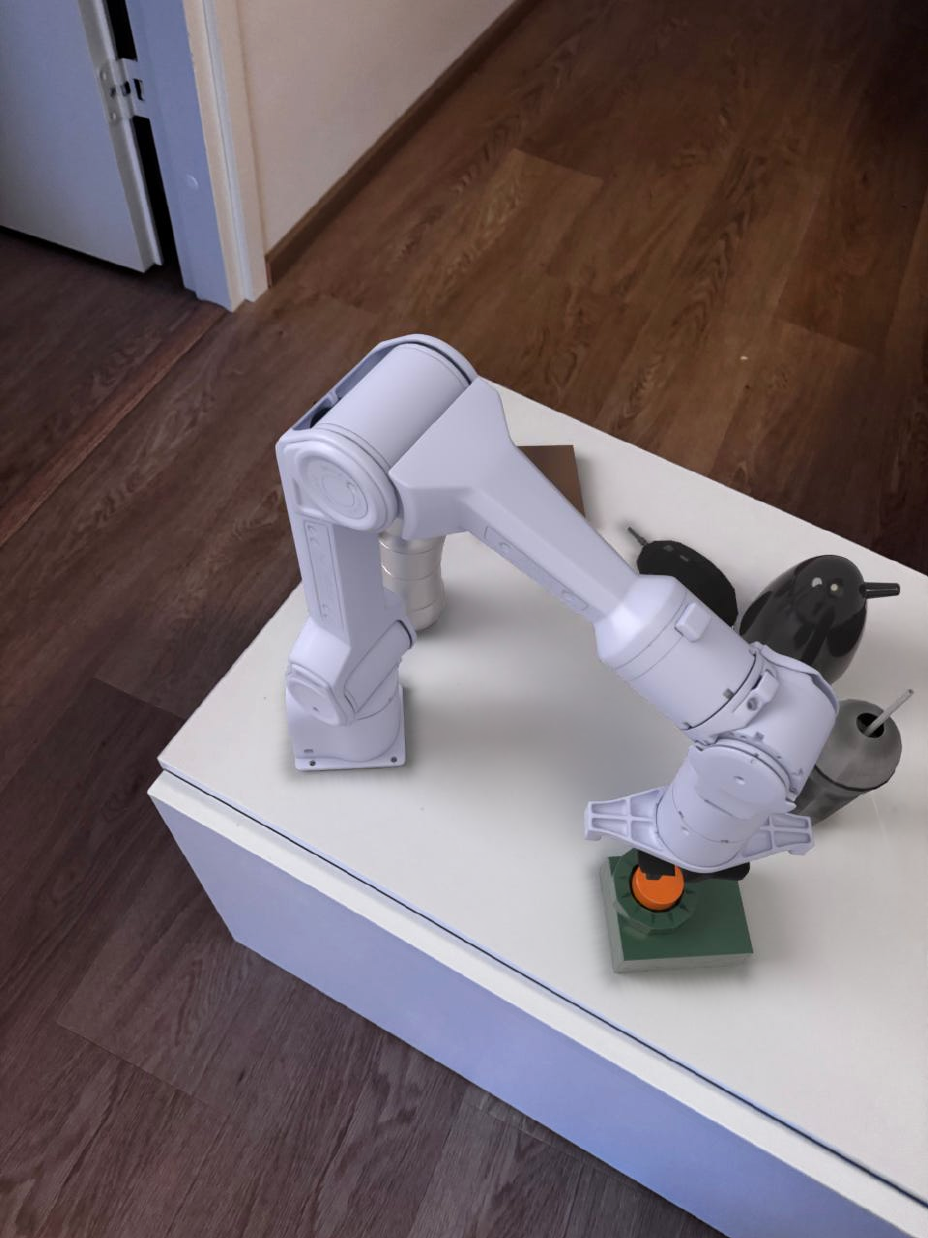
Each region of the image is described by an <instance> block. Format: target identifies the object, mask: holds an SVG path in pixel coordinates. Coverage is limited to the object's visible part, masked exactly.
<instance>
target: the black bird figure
mask: <svg viewBox="0 0 928 1238" xmlns="http://www.w3.org/2000/svg"><path fill="white" fill-rule="evenodd" d="M858 567H859V566H857V565H856V564H855V563H854V562H853V561H852V560H850V559H848V558H846V557H845V556H841V555H838V554H821V555H820V554H819V555H816V556H811V557H809V558H807V559H804V560H802V561H800V562H798V563H796V564H794V565H793V566H791V567H790V568H787V569H786V570H785V571H783V572H782V573H781V574H779V575H778V576H776V577H775V578H774V579H773V580H771V581H770V582H769V583H768V584H767V585H766V586H765V587H763V589H762V590H761V591H760V592H759V593H758V594H757V595H756V596H755V598H754V599H753V600H752V601H751V602H750V603H749V605H748V607H747V608H746V610H745V612H744V614H743V615H742V618H741V620H740V624H739V629H738V635H739V636H740V637H742V638H743V639H744V640H745V641H746V642H747V643H748V644H751V643H754V642H759V643H760V644H762V645H767V646H768V647H769V648H770V649H771V650H773V651H774V652H776V653H778V654H781V655H784V656H787V657H790V658H793V659H796V660H798V661H800V662H802V663H805V664H806V665H808V666H810V667H812V668H813V669H815V670H816V671H818V672H819V673H820V674H821V676H822V677H823V679H824V680H825V681H826V682H827V683H828V684H829V685H830V686H832V685H834V684H835V683H837V681H838V680H840V679H841V678H842V677H843V676H844V674H845V673H846V672H847V670H848V669H849V667H850V666H851V664H852V663H853V661H854V660H855V659H854V658H855V657H856V654H857V653H858V650H859V648H860V645H861V643H862V640H863V637H864V633H865V631H866V625H867V619H868V612H869V611H868V610H869V601H868V600H871V599H880V598H889V597H897V596H899V595H900V594H901V584H899V583H898V582H880V581H879V582H878V581H876V582H875V581H865V578H864V576H863V574H862V572H861V570H860V569H859V568H858Z"/></svg>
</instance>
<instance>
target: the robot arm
mask: <svg viewBox="0 0 928 1238" xmlns="http://www.w3.org/2000/svg"><path fill="white" fill-rule="evenodd" d="M517 446H518V445H516V444H515V443H514V441H513V439H512V437H511V435H510V429H509V426H508V422H507V417H506V414H505V409H504V405H503V401H502V398H501V395H500V392H498V390H497V388H495V387H494V386H492V385H491V384H490V383H488V382H487V381H485V380H484V379H483V378H481V377H480V376H479V375H478V373H477V371H476V370H475V368H474V367H473V365H472V364H471V363H470V361H468V359H467V358H466V357H465V356H464V355H463V354H462V353H461V352H460V351H458V350H457V349H456V348H454V347H453V346H451V345H450V344H449V343H447V342H445V341H443V340H441V339H439V338H437V337H435V336H432V335H427V334H423V333H412V334H407V335H403V336H399V337H395V338H392V339H387V340H384V341H381V342H378V344H377V345H376V346H375V347H373V348H372V349H371V350H370V351H369V352H368V353H367V354H366V355H365V356H364V357H363V358H362V359H361V360H360V361H359V362H358V363H357V364H356V365H355V366H353V368H351V370H350V371H348V373H347V374H345V375H343V377H342V378H341V379H340V380H338V382H337V383H336V384H335V385H334V386H333V387H332V388H331V389H329V391H328V392H326V394H325V395H323V396H322V397H321V398H320V399H319V400H318V401H317V402H316V403H315V404H314V405H312V407H311V408H310V409H309V410H307V412H305V414H304V415H302V416H301V417H300V418H299V419H298V420H297V421H296V422H294V424H293V425H292V426H291V427H290V428H288V430H287V431H286V432H284V434H282V435H281V436H280V438H279V439H278V441H277V442H276V443H275V448H274V449H275V456H276V461H277V465H278V470H279V476H280V480H281V485H282V489H283V494H284V495H283V496H284V499H285V504H286V509H287V514H288V518H289V523H290V528H291V533H292V537H293V538H292V539H293V542H294V546H295V547H294V548H295V552H296V556H297V561H298V567H299V572H300V576H301V580H302V585H303V591H304V596H305V599H306V605H307V609H308V616H307V619H306V621H305V623H304V625H303V627H302V629H301V631H300V632H299V635H298V636H297V639H296V640H295V642H294V644H293V646H292V648H291V650H290V652H289V654H288V657H287V659H288V663H289V665H287V668H286V671H285V672H284V680H285V711H286V722H287V729H288V733H289V737H290V741H291V747H292V750H293V753H294V759H295V760H294V765H295V768H296V770H298V771H301V772H302V771H303V772H304V771H305V772H306V771H323V770H324V771H325V770H326V771H327V770H345V769H369V768H371V769H372V768H392V767H403V766H404V765H405V764H406V761H407V760H406V759H407V756H406V737H405V735H406V734H405V712H404V711H405V709H404V688H403V685H402V684H401V683H400V680H399V668H400V665H401V663H402V662H403V656H404V655H405V654H406V653H407V652H408V651H410V650H412V649H413V647H414V646H415V645H416V643H417V640H418V639H417V638H418V637H417V631H415V629H414V626H413V623H412V621H411V619H410V618H409V616H408V615H407V613H406V610H405V602H404V601H403V600H402V599H401V598H400V597H399V596H397V595H396V594H395V593H393V592H392V591H390V590H389V589H387V588H386V587H384V586H383V580H382V569H381V558H380V546H379V535H378V532H382V531H384V530H386V529H387V528H389V527H390V525H391V524H392V523H393V522H394V520H395V519H396V517H397V518H399V519H401V520H403V521H404V522H403V529H402V538H403V539H405V540H407V541H414V540H420V539H426V538H432V537H437V536H443V535H447V536H448V535H454V534H459V533H465V532H468V533H469V534H471V535H472V536H474V537H475V538H476V539H478V540H479V541H480V542H482V543H483V544H484V545H486V546H487V547H488V548H490V549H491V550H492V551H493V552H495V553H496V554H497V555H499V556H501V557H502V558H503V559H504V560H506V561H507V562H508V563H510V564H511V565H513V566H514V568H516V569H518V570H519V571H520V572H522V573H523V574H524V575H526V576H527V577H528V578H530V579H531V580H532V581H533V582H535V583H536V584H538V585H540V587H542V588H543V589H544V590H546V591H547V592H549V593H550V594H551V595H552V596H554V597H555V598H557V599H558V600H559V601H560V602H562V603H563V604H564V605H565V606H567V607H568V608H569V609H571V610H572V611H573V612H575V613H576V614H578V615H579V616H580V617H582V618H583V619H584V620H585V621H587V622H589V623H590V624H591V625H592V626H593V629H594V635H595V647H596V653H597V657H598V659H599V661H601V663H603V664H605V666H606V667H608V668H609V669H610V670H611V671H612V672H613V673H614V674H615V675H617V676H618V677H619V678H620V679H621V680H623V682H625V683H626V684H627V685H628V686H629V687H631V689H632V690H634V691H635V692H636V693H637V694H638V695H639V696H641V697H642V698H643V699H644V700H645V701H646V702H647V703H648V704H650V705H651V706H652V707H653V708H654V709H655V710H657V711H658V712H659V713H660V714H661V715H662V716H663V717H664V718H666V719H667V720H668V721H669V722H670V723H671V724H673V726H675V727H676V728H677V729H678V730H679V731H680V732H681V733H682V734H684V736H686V737H687V738H689V739H690V740H691V742H693V744H690V745H689V747H688V752H687V753H688V754H687V755H686V757H685V759H684V760H683V762H682V764H681V765H680V767H679V769H678V771H677V772H676V774H675V775H674V777H673V779H672V781H671V783H669V784H665V785H662V786H657V787H654V788H650V789H647V790H644V791H639V792H636V793H632V794H629V795H626V796H622V797H617V798H614V799H608V800H589V801H588V802H587V803H586V807H585V808H584V812H583V820H584V821H583V831H584V834H583V837H584V840H585V841H595V842H598V841H600V840H601V839H602V837H606V838H609V839H612V840H615V841H618V842H620V843H622V844H624V845H627V846H629V847H632V848H636V849H637V850H638V864H639V868H640V871H641V872H642V873H645V874H646V879H647V880H659V879H660V878H661V877H662V876H675V865H677V866H679V867H681V868H683V882H685V883H697V882H701V881H704V880H708V879H718V880H732V881H738V882H740V881H743V880H744V879H745V878H746V877H747V876H748V875H749V873H750V870H751V862H753V861H757V860H761V859H763V858H766V857H770V856H773V855H777V854H780V853H784V852H788V854H789V855H792V856H805V855H806V854H807V853H808V852H810V850H811V849H812V848H814V847H815V842H814V841H815V840H814V834H813V833H814V832H813V826H812V825H811V818H810V817H807V816H799V815H794V814H790V813H787V812H789V811H791V810H793V809H795V808H796V805H795V804H794V803H793V801H795V799H796V797H798V796H799V794H800V793H801V791H802V789H803V787H804V785H805V783H806V781H807V779H808V777H809V775H810V773H811V771H812V769H813V767H814V765H815V763H816V761H817V759H818V757H819V755H820V753H821V751H822V749H823V747H824V745H825V743H826V741H827V739H828V737H829V735H830V733H831V731H832V729H833V727H834V725H835V721H836V717H837V715H838V713H839V701H840V700H839V698H838V695H837V693H836V691H835V690H834V688H833V687H832V685H829V684H828V683H827V682H826V681H825V680H824V679H823V677H822V676H821V674H820V673H819V672H818V671H816V670H815V669H813V668H812V667H810V666H808V665H806V664H805V663H802V662H800V661H798V660H796V659H793V658H790V657H787V656H784V655H781V654H778V653H776V652H774V651H773V650H771V649H770V648H769V647H768V646H767V645H762V644H760V643H759V642H754V643H751V644H748V643H747V642H746V641H745V640H744V639H743V638H742V637H740V636H739V633H737V632H736V631H735V630H734V629H732V627H729V626H728V625H727V624H726V623H725V622H724V621H723V620H721V619H720V618H719V617H718V616H717V615H716V614H715V613H714V612H713V611H711V610H710V609H709V608H708V607H707V606H706V605H705V604H704V603H703V602H701V601H700V600H699V599H698V598H697V597H696V596H695V595H694V594H693V593H691V592H690V591H689V590H688V589H687V588H686V587H685V586H684V585H683V584H681V583H680V582H679V581H678V580H677V579H676V578H674V577H672V576H665V575H642V574H640V573H639V572H637V571H636V570H635V569H634V568H633V567H632V566H631V565H630V564H629V562H627V560H626V559H624V557H623V556H622V555H620V553H619V552H618V551H617V550H616V549H615V548H614V547H613V546H612V545H611V544H610V543H609V542H608V540H607V539H606V538H604V536H603V535H602V534H601V533H600V532H599V531H598V530H597V529H596V528H595V527H594V526H593V525H592V523H590V522H589V521H588V519H587V518H586V519H585V518H584V517H583V516H582V515H581V513H580V512H579V511H578V510H577V509H576V508H575V507H574V506H573V505H572V504H571V503H570V502H569V501H568V500H567V499H566V498H565V497H564V496H563V495H562V493H561V492H560V491H559V490H558V489H557V488H556V487H555V486H554V485H553V484H552V483H551V482H550V481H549V480H548V479H547V478H546V477H545V476H544V475H543V473H542V472H541V471H540V470H539V469H538V468H537V467H536V466H535V465H534V464H533V463H532V462H531V461H530V460H529V459H528V458H527V457H526V456H525V455H524V453H523V452H522V451H521V450H520V449H519V448H518V447H517ZM393 759H394V760H396V761H392V760H393ZM312 763H314V765H312Z"/></svg>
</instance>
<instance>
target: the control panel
mask: <svg viewBox="0 0 928 1238" xmlns="http://www.w3.org/2000/svg"><path fill="white" fill-rule="evenodd" d="M516 446H517V447H518V448H519V449H520V450H521V451H522V452H523V453H524V455H525V456H526V457H527V458H528V459H529V460H530V461H531V462H532V463H533V464H534V465H535V466H536V467H537V468H538V469H539V470H540V471H541V472H542V473H543V475H544V476H545V477H546V478H547V479H548V480H549V481H550V482H551V483H552V484H553V485H554V486H555V487H556V488H557V489H558V490H559V491H560V492H561V493H562V495H563V496H564V497H565V498H566V499H567V500H568V501H569V502H570V503H571V504H572V505H573V506H574V507H575V508H576V509H577V510H578V511H579V512H580V513H581V515H582V516H583V517H584V518H585V519H586V520H587V518H586V512H585V506H584V502H583V501H584V499H583V494H582V489H581V482H580V476H579V470H578V465H577V464H578V463H577V459H576V454H575V447H574V444H548V445H545V444H544V445H543V444H542V445H516Z"/></svg>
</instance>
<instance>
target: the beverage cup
mask: <svg viewBox="0 0 928 1238" xmlns="http://www.w3.org/2000/svg"><path fill="white" fill-rule="evenodd" d="M914 694H915V690H914V689H913V688H911V687H910V688H909V687H908V688H907V690H906V691H905V692H903V693H902V694H901V695H900V696H899V697H897V699H896V700H895V701H894V702H893V703H892V704H891V705H890V706H889V707H887V708H886V709H885V710H884V709H883V708H881V707H880V706H878V705H877V704H874V703H872V702H869V701H866V700H861V699H855V698H854V699H853V698H849V699H842V700H839V713H838V715H837V717H836V721H835V725H834V727H833V729H832V731H831V733H830V735H829V737H828V739H827V741H826V743H825V745H824V747H823V749H822V751H821V753H820V755H819V757H818V759H817V761H816V763H815V765H814V767H813V769H812V771H811V773H810V775H809V777H808V779H807V781H806V783H805V785H804V787H803V789H802V791H801V793H800V794H799V796H798V797H796V799H795V801H793V803H794V804H795V805H796V808H795V809H793V810H791V811H789V812H787V813H790V814H794V815H799V816H807V817H810V818H811V825H812V827H814V826H816V825H817V824H819V823H821V822H823V821H825V820H826V819H828V818H829V817H831V816H832V815H834V814H835V813H837V812H838V811H840V810H841V809H843V808H844V807H845V806H847V805H848V804H850V803H851V802H853V801H855V800H856V799H857V798H858V797H860V796H863V795H865V794H867V793H871V792H872V791H876V790H878V789H880V788H881V787H883V786H884V785H887V784H888V783H889V781H890V780H891V779H892V778H893V776H894V775H895V773H896V769H897V768H898V766H899V763H900V761H901V756H902V751H903V742H902V736H901V732H900V730H899V727H898V726H897V723H896V721H895V720H894V719H893V718H892V717H891V716H892V715H893V714H894V713H895V712H896V711H897V710H899V708H900V707H902V705H903V704H905V703H906V702H907V701H908V700H909V699H910V698H911V697H912V696H913V695H914Z"/></svg>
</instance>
